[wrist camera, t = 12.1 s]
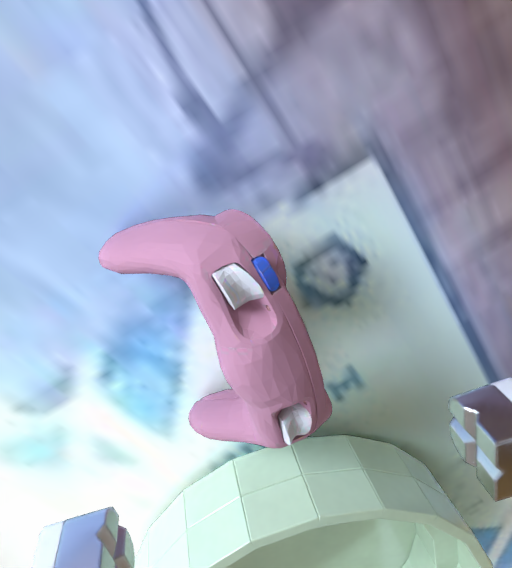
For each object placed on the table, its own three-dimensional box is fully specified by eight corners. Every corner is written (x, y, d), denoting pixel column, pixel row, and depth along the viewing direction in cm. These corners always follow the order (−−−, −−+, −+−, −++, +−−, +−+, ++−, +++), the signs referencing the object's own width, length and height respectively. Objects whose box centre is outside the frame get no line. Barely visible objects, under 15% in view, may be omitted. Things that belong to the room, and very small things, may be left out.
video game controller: (260, 369, 23) (371, 430, 18) (187, 430, 21) (287, 519, 16) (181, 185, 19) (297, 191, 13) (79, 240, 17) (167, 274, 11)
